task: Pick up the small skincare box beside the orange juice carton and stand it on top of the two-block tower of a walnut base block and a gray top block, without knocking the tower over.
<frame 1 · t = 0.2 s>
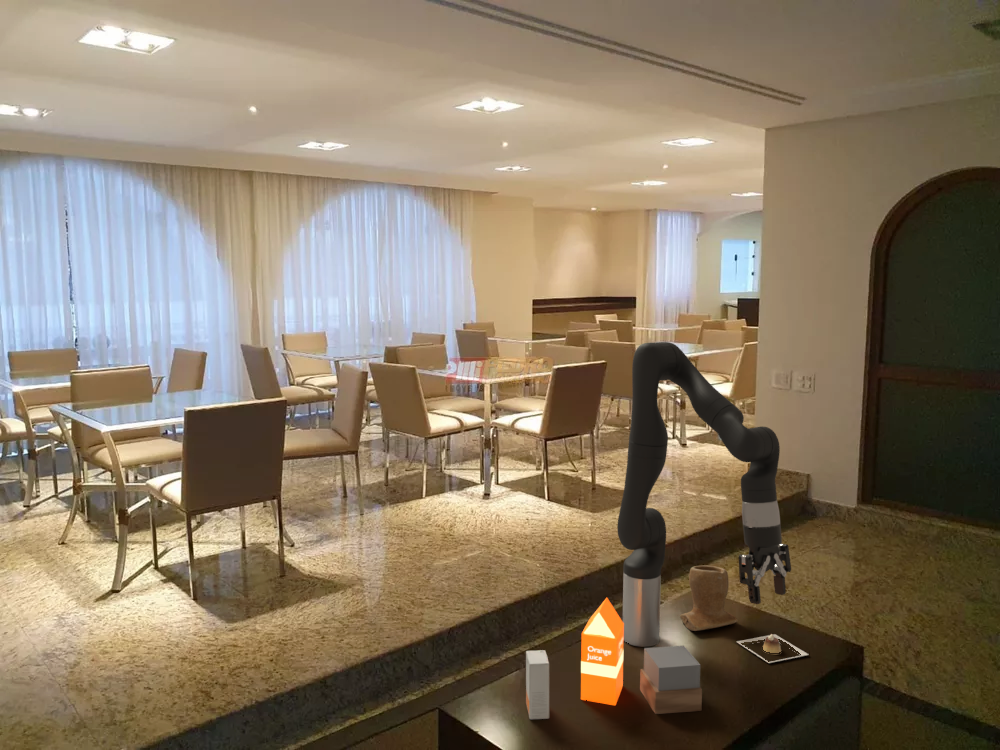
hand: (768, 598, 161), 22 cm above the table, tool pointing down, fingers open, 8 cm apart
gray top block: (671, 678, 163), point 5 cm above the table, touching walnut base block
skincare box: (537, 712, 158), on the table
stone cup: (705, 624, 202), on the table
walnut base block: (669, 701, 163), on the table, touching gray top block
orange juice: (601, 693, 166), on the table
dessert: (771, 653, 187), on the table
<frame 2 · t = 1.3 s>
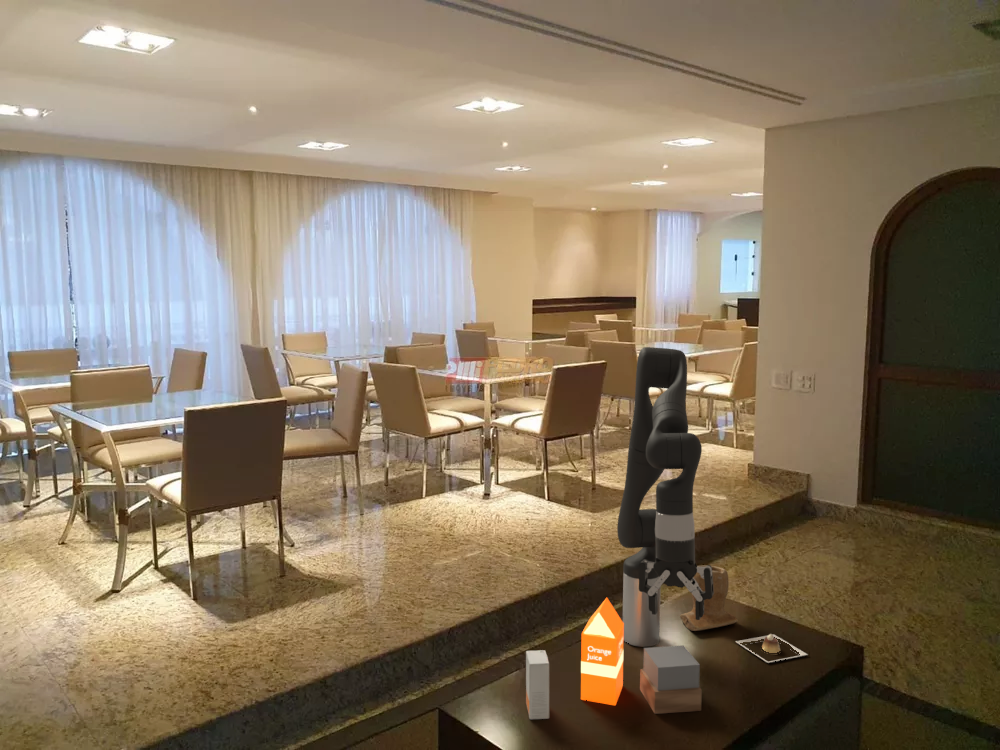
hand: (676, 615, 150), 23 cm above the table, tool pointing down, fingers open, 8 cm apart
nothing on the table moved.
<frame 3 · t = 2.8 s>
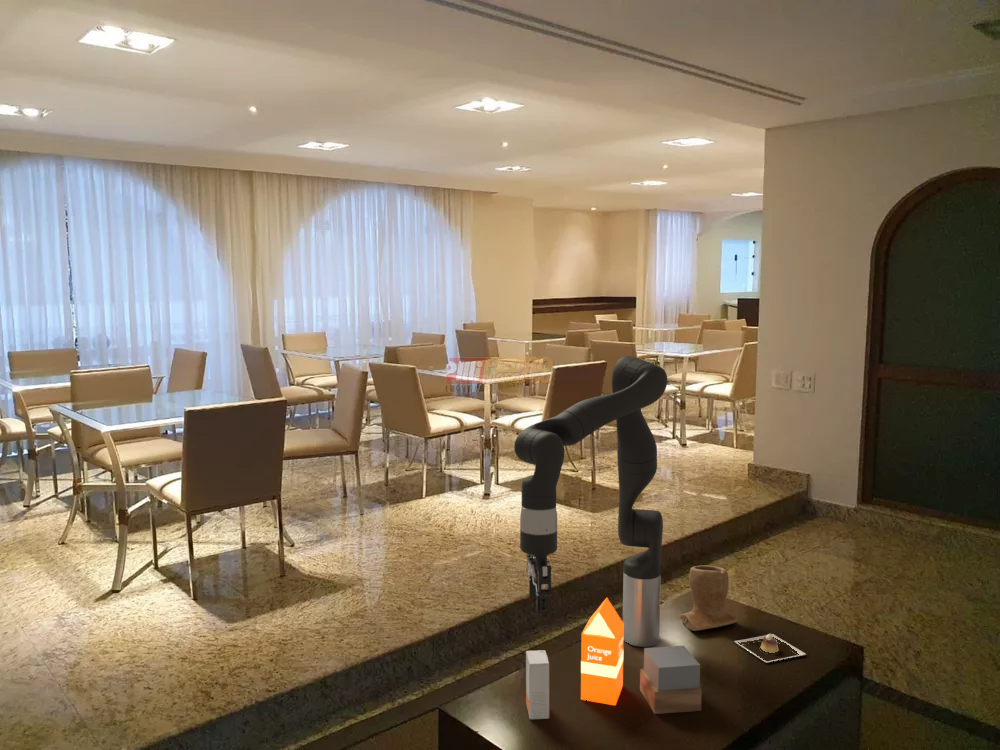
hand: (538, 604, 156), 23 cm above the table, tool pointing down, fingers open, 8 cm apart
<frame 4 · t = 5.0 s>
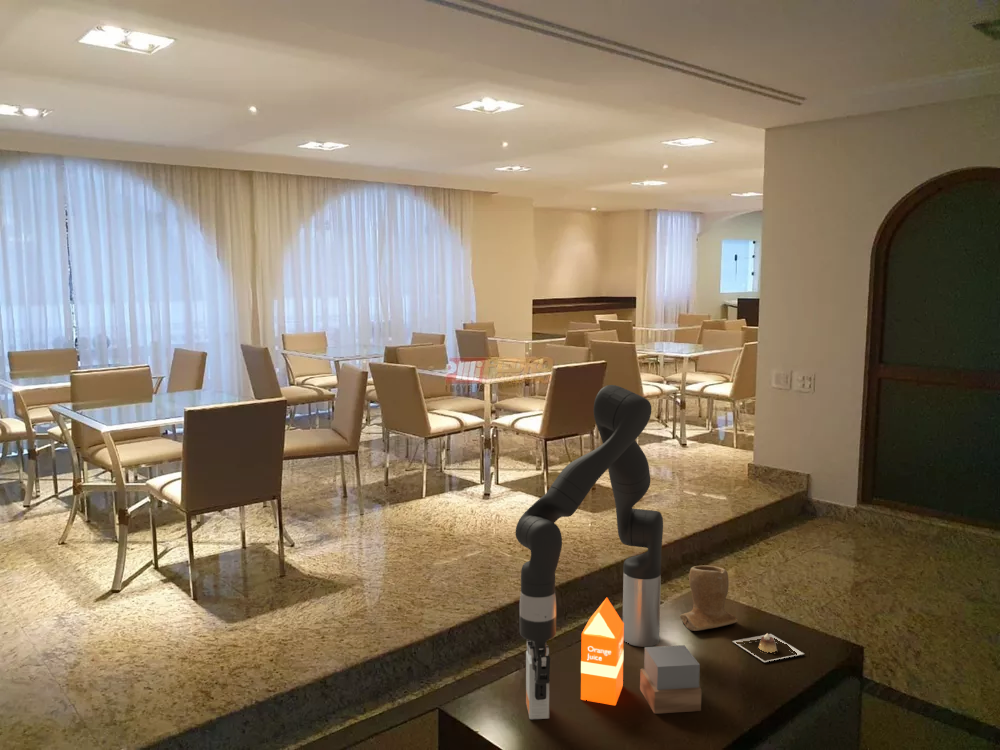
hand: (537, 690, 158), 5 cm above the table, tool pointing down, fingers closed on skincare box, 6 cm apart
skincare box: (537, 712, 158), on the table, touching gripper
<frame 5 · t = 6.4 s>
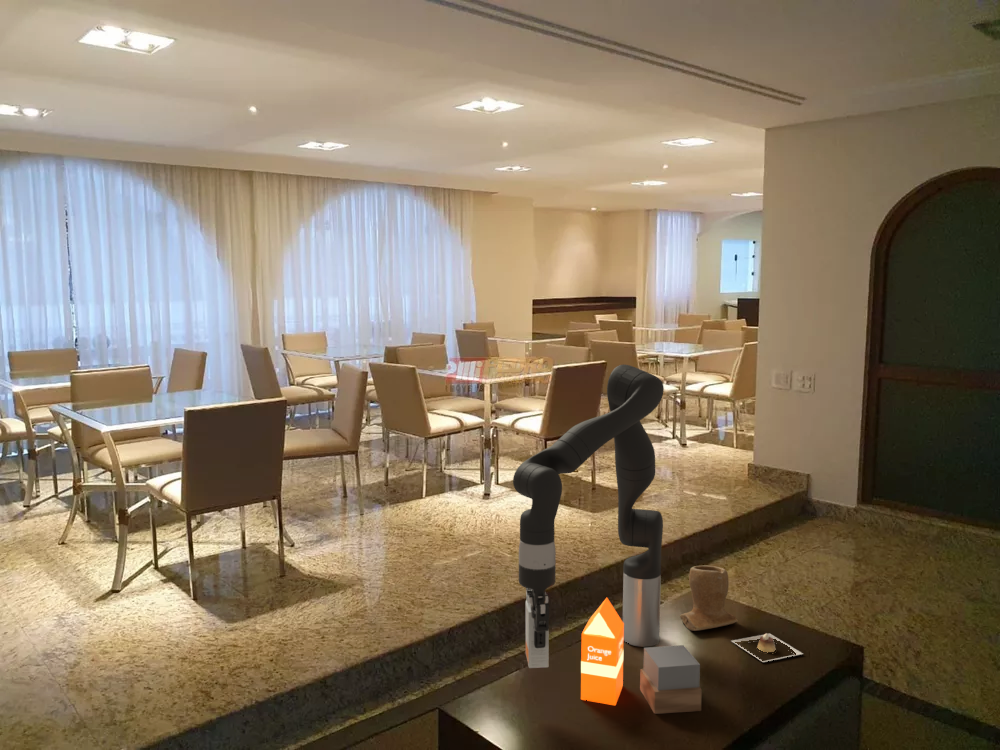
hand: (536, 639, 157), 15 cm above the table, tool pointing down, fingers closed on skincare box, 6 cm apart
skincare box: (536, 662, 158), point 11 cm above the table, touching gripper
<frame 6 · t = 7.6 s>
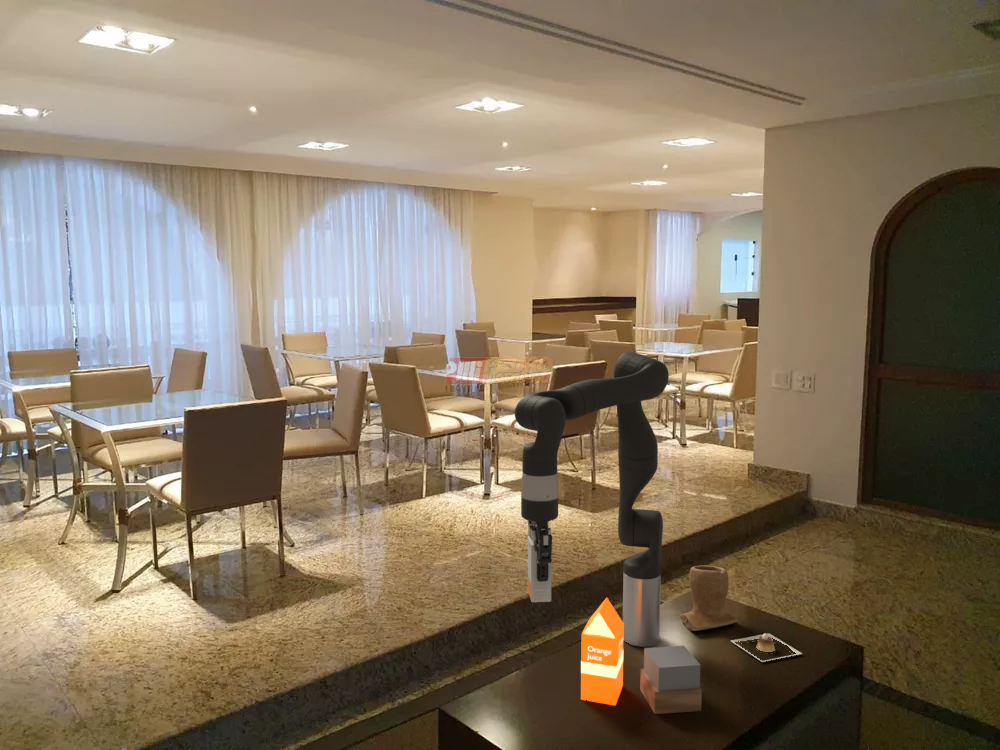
hand: (539, 574, 156), 29 cm above the table, tool pointing down, fingers closed on skincare box, 6 cm apart
skincare box: (539, 597, 156), point 24 cm above the table, touching gripper
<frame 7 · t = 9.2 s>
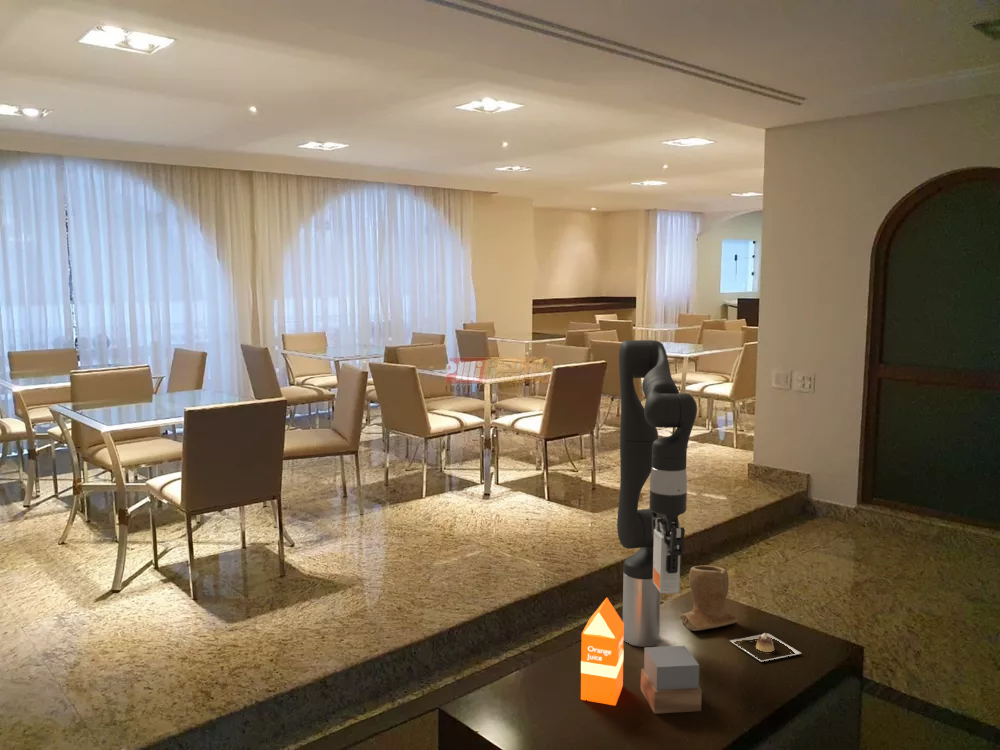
hand: (666, 566, 160), 29 cm above the table, tool pointing down, fingers closed on skincare box, 6 cm apart
skincare box: (665, 589, 161), point 25 cm above the table, touching gripper
when the fingers open (16 cm above the table, at t = 13.0 s): skincare box drops 2 cm, resting on gray top block.
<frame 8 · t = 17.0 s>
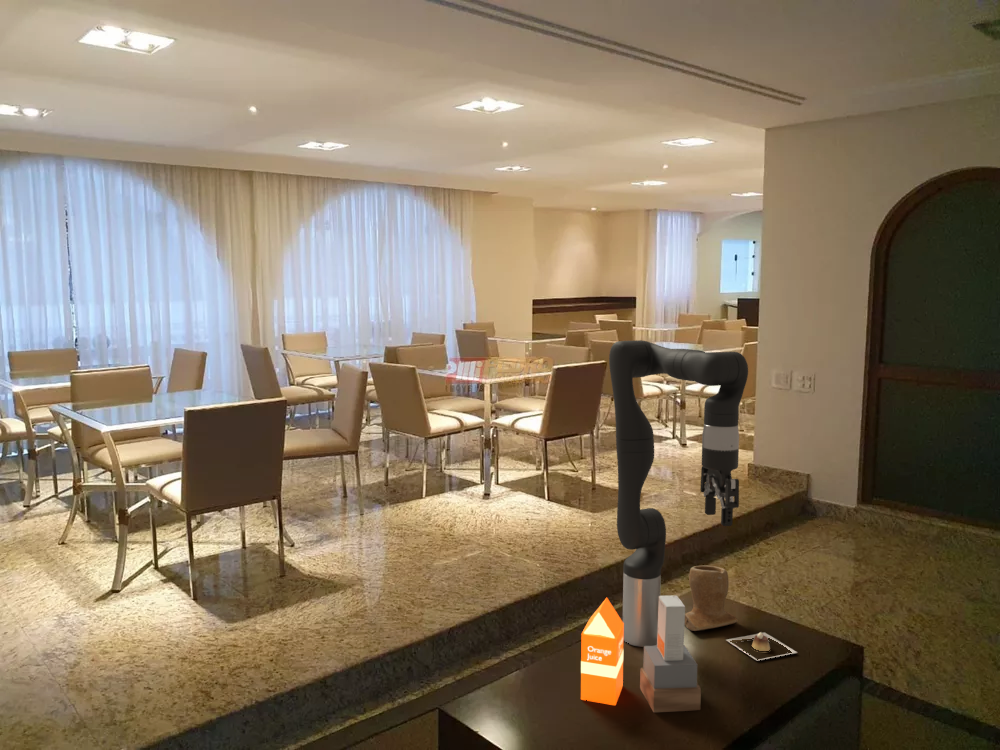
hand: (718, 519, 164), 38 cm above the table, tool pointing down, fingers open, 8 cm apart
gray top block: (669, 677, 163), point 5 cm above the table, touching skincare box, walnut base block
skincare box: (669, 655, 163), point 9 cm above the table, touching gray top block
at the end: skincare box 0.1 cm off-centre on the gray top block, point 4.8 cm above the gray top block's base; gray top block 0.1 cm off-centre on the walnut base block, point 5.0 cm above the walnut base block's base; skincare box tilted 1° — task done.
